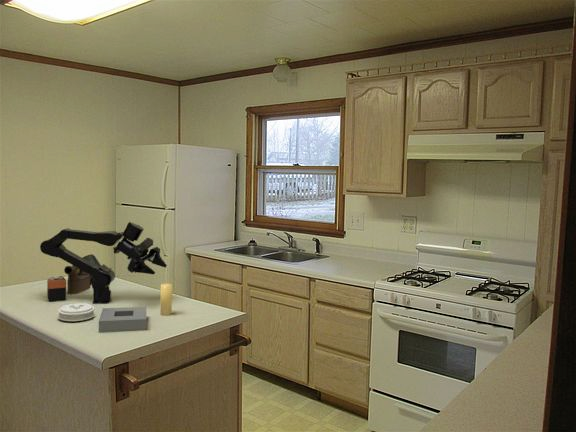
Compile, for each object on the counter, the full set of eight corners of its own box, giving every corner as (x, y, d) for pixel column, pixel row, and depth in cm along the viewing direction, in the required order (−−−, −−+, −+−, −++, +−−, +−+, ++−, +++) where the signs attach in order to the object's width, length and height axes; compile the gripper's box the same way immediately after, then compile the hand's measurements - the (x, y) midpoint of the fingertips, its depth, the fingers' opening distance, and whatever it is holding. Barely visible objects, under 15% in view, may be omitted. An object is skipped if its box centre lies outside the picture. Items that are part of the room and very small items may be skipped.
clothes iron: (58, 295, 215) (58, 265, 214) (74, 287, 231) (74, 259, 230) (76, 296, 215) (76, 266, 214) (90, 287, 231) (90, 259, 230)
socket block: (98, 332, 171) (98, 321, 170) (102, 318, 186) (102, 308, 185) (146, 329, 175) (146, 319, 175) (146, 316, 190) (146, 306, 190)
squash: (59, 272, 237) (75, 251, 232) (83, 268, 250) (98, 248, 246) (74, 294, 233) (91, 273, 228) (98, 289, 247) (114, 269, 242)
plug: (160, 316, 192) (160, 286, 191) (160, 312, 196) (160, 283, 195) (171, 315, 193) (172, 285, 192) (171, 312, 197) (171, 283, 196)
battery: (66, 300, 208) (66, 277, 207) (48, 302, 204) (48, 278, 203) (64, 298, 212) (64, 275, 211) (47, 299, 208) (47, 276, 207)
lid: (58, 315, 189) (58, 302, 188) (93, 312, 194) (93, 300, 193) (57, 325, 177) (57, 311, 177) (95, 321, 182) (95, 308, 182)
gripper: (124, 240, 195) (155, 261, 193) (150, 229, 213) (178, 248, 211) (114, 262, 199) (145, 283, 197) (140, 249, 216) (169, 268, 214)
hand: (160, 269), depth 204 cm, fingers open, 9 cm apart
